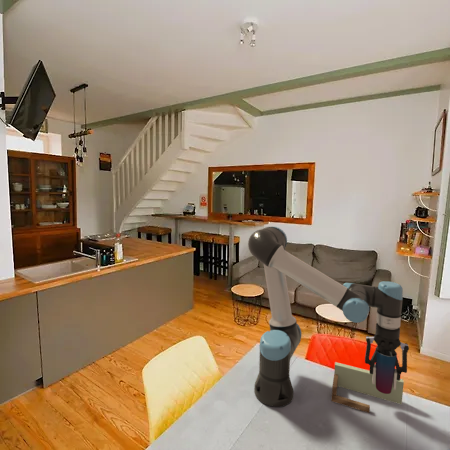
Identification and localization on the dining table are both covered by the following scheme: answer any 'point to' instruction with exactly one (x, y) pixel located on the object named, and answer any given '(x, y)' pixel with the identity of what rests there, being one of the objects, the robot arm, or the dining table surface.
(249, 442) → the dining table surface
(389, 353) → the cup
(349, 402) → the bracket
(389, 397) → the wall board
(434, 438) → the dining table surface
